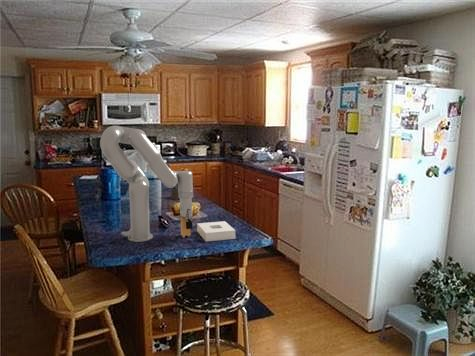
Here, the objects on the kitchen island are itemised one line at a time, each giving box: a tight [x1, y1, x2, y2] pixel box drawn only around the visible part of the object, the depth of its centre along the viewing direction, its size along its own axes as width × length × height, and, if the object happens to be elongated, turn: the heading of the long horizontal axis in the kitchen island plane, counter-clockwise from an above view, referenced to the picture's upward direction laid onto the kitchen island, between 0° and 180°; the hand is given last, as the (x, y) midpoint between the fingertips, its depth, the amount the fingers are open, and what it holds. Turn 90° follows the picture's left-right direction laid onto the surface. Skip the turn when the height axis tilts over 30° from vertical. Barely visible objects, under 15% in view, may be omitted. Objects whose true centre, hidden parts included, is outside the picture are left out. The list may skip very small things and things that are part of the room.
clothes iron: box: [171, 182, 195, 201], centre depth 297 cm, size 8×16×13 cm, turn 72°
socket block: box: [196, 220, 236, 243], centre depth 215 cm, size 16×18×4 cm
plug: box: [180, 216, 192, 238], centre depth 211 cm, size 4×4×10 cm
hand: (187, 226), depth 211 cm, fingers open, 9 cm apart
